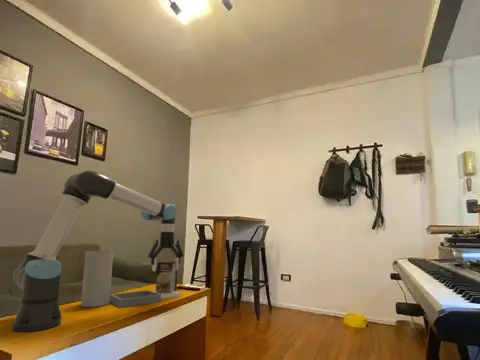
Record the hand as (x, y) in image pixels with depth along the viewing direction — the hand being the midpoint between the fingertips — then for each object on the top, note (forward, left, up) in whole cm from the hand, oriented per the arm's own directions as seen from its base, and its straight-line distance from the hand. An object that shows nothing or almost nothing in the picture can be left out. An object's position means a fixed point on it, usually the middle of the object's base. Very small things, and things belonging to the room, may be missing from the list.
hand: (165, 270), depth 169 cm
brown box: (+9, +14, -14) cm, 22 cm away
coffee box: (0, 0, -12) cm, 12 cm away
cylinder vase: (-35, +2, -14) cm, 37 cm away
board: (0, 0, -14) cm, 14 cm away
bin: (-18, -4, -14) cm, 23 cm away
